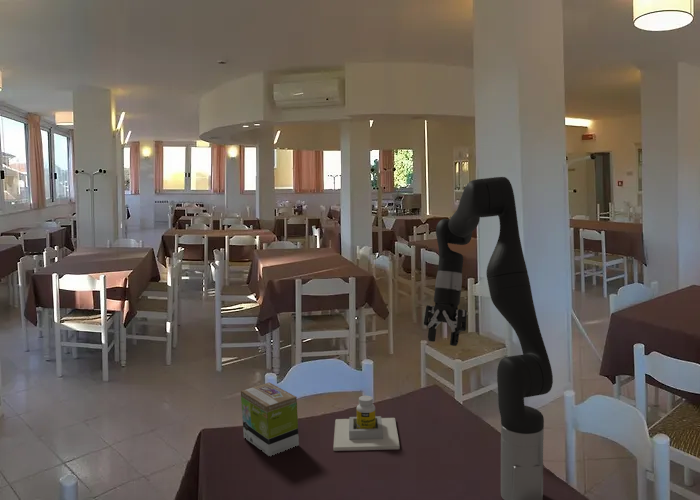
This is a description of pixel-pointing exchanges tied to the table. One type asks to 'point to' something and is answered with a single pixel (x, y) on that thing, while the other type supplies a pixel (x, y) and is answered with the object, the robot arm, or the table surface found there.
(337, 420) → the socket dock
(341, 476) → the table surface
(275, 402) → the tea box
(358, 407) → the supplement bottle
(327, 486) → the table surface
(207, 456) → the table surface
